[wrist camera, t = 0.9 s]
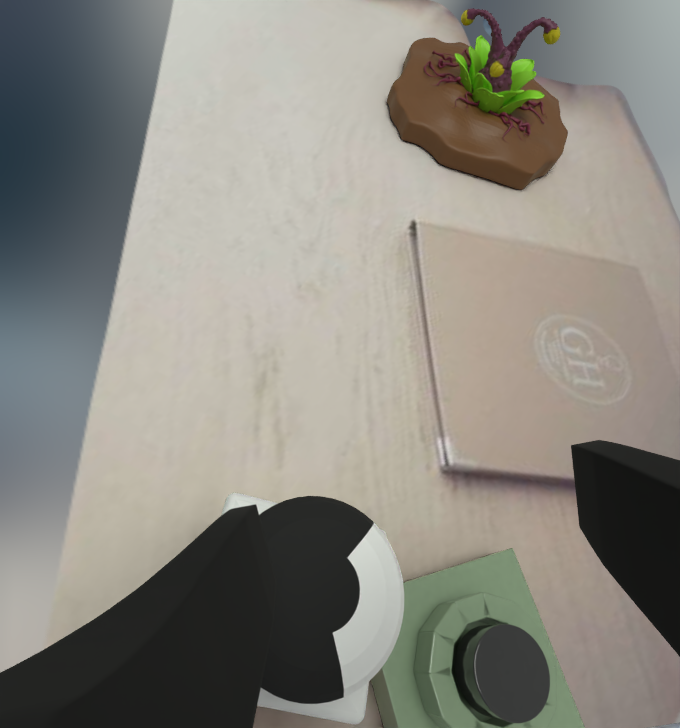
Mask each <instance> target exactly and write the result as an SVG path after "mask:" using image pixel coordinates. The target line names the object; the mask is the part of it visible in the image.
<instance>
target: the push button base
mask: <svg viewBox="0 0 680 728" xmlns="http://www.w3.org/2000/svg"><path fill="white" fill-rule="evenodd" d="M403 586H404V613H403V620H402V625H401V629H400V633H399V636H398V639H397V641H396V644H395V646H394V649H393V650H392V652H391V654H390V656H389V657H388V659H387V661H386V662H385V664H384V665H383V666H382V668H381V669H380V670H379V672H378V673H377V674H376V675H375V676H374V677H373V678H372V679H371V682H372V685H373V689H374V693H375V697H376V700H377V704H378V708H379V712H380V715H381V719H382V723H383V727H384V728H585V727H584V724H583V722H582V719H581V717H580V714H579V712H578V709H577V707H576V704H575V702H574V699H573V697H572V694H571V692H570V690H569V687H568V685H567V682H566V680H565V677H564V675H563V672H562V670H561V667H560V665H559V662H558V660H557V657H556V655H555V652H554V650H553V647H552V645H551V642H550V640H549V637H548V635H547V632H546V630H545V627H544V625H543V623H542V620H541V618H540V615H539V613H538V610H537V608H536V605H535V603H534V600H533V598H532V595H531V593H530V590H529V588H528V585H527V583H526V580H525V578H524V575H523V573H522V570H521V568H520V565H519V563H518V560H517V558H516V555H515V553H514V551H513V548H510V549H507V550H503V551H500V552H497V553H493V554H490V555H487V556H484V557H480V558H477V559H474V560H471V561H468V562H465V563H462V564H459V565H455V566H452V567H449V568H446V569H443V570H440V571H437V572H434V573H431V574H427V575H424V576H421V577H418V578H415V579H412V580H409V581H406V582H403ZM494 624H510V625H514V626H517V627H519V628H521V629H523V630H524V631H526V632H527V633H528V634H530V635H531V636H532V637H533V638H534V640H535V641H536V642H537V643H538V645H539V646H540V648H541V650H542V651H543V653H544V656H545V658H546V661H547V664H548V668H549V674H550V690H549V696H548V699H547V702H546V704H545V706H544V708H543V709H542V711H541V712H540V713H539V714H538V715H537V716H536V717H535V718H534V719H532V720H530V721H528V722H525V723H511V722H507V721H502V720H498V719H494V718H490V717H487V716H484V715H482V714H480V713H479V712H477V711H476V710H475V709H474V708H472V707H471V706H470V705H469V703H468V702H467V701H466V699H465V698H464V696H463V695H462V693H461V691H460V688H459V686H458V683H457V679H456V674H455V655H456V651H457V648H458V645H459V643H460V641H461V639H462V638H463V636H464V635H465V634H466V633H467V632H468V631H470V630H471V629H472V628H475V627H477V626H481V625H494Z"/></svg>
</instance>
